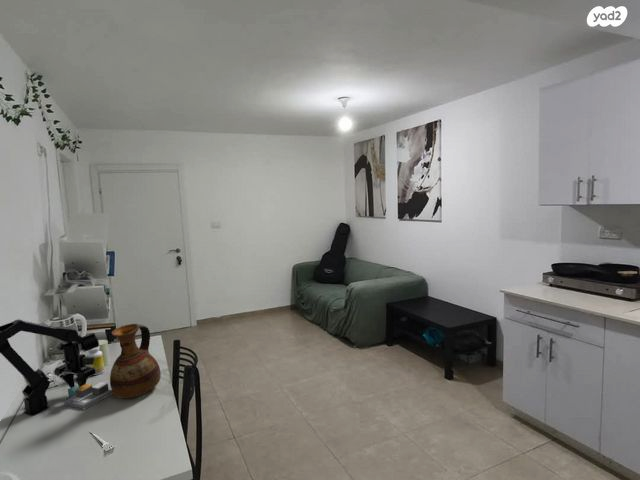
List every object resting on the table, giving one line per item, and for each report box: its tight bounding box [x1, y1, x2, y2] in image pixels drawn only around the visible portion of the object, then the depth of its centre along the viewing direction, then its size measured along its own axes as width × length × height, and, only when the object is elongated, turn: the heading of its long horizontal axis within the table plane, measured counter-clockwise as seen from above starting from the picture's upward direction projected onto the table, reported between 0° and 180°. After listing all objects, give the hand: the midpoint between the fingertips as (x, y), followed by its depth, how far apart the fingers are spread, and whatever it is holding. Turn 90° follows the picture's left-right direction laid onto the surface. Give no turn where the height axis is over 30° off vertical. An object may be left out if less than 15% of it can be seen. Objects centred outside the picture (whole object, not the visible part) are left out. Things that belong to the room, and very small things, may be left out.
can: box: [87, 339, 111, 367], centre depth 199 cm, size 9×9×12 cm
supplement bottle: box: [86, 346, 105, 376], centre depth 189 cm, size 7×7×13 cm
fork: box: [92, 433, 116, 452], centre depth 133 cm, size 3×20×2 cm, turn 51°
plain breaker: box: [92, 381, 110, 396], centre depth 164 cm, size 4×4×3 cm
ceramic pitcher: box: [109, 323, 162, 399], centre depth 167 cm, size 20×20×30 cm
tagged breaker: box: [76, 383, 93, 398], centre depth 163 cm, size 4×4×3 cm
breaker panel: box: [64, 389, 114, 410], centre depth 163 cm, size 13×12×2 cm
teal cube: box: [67, 384, 79, 398], centre depth 167 cm, size 4×4×4 cm
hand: (78, 389), depth 168 cm, fingers open, 6 cm apart
